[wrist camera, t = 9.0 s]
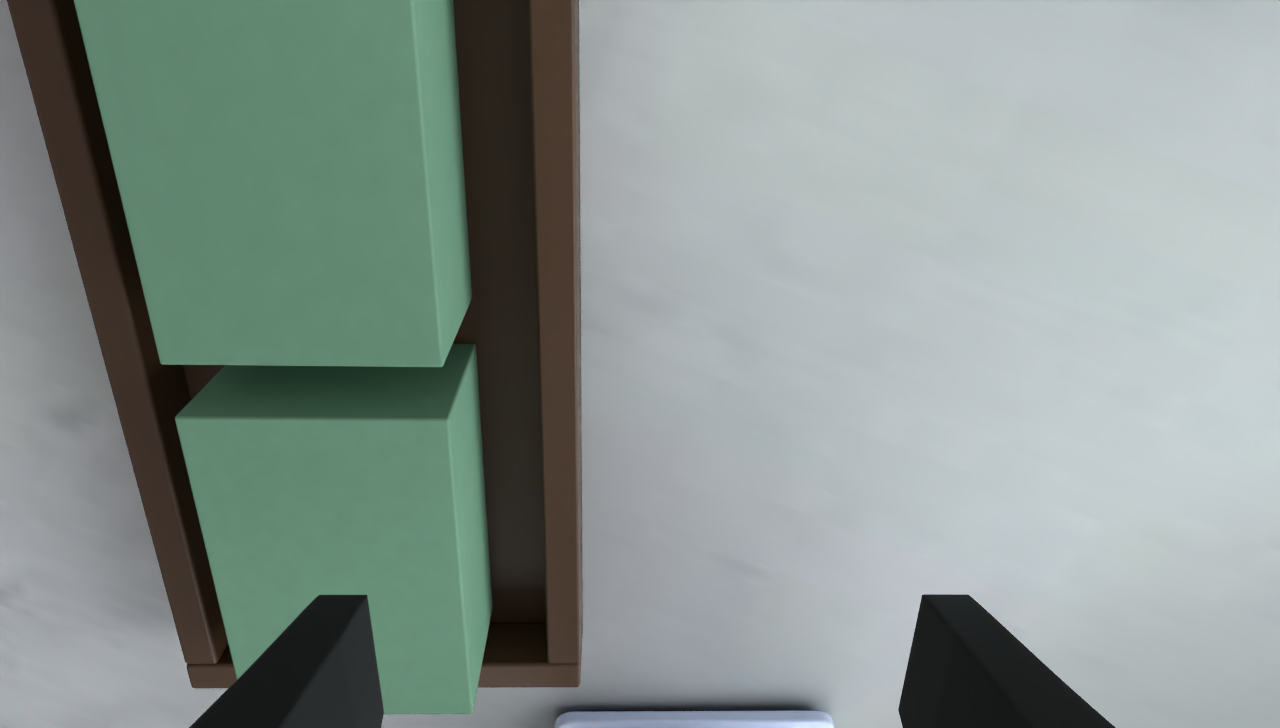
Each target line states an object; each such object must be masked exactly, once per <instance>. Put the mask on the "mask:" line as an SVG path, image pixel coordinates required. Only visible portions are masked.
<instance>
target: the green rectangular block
mask: <svg viewBox="0 0 1280 728" xmlns="http://www.w3.org/2000/svg"><path fill="white" fill-rule="evenodd" d="M74 4H75V8H76V12H77V16H78V21H79V25H80V29H81V33H82V37H83V41H84V46H85V50H86V54H87V58H88V62H89V67H90V71H91V75H92V79H93V83H94V88H95V92H96V96H97V100H98V104H99V108H100V113H101V117H102V121H103V125H104V129H105V134H106V138H107V142H108V146H109V150H110V155H111V159H112V163H113V167H114V171H115V175H116V180H117V184H118V188H119V192H120V196H121V201H122V205H123V209H124V213H125V217H126V221H127V226H128V230H129V234H130V238H131V242H132V247H133V251H134V255H135V259H136V263H137V268H138V272H139V276H140V280H141V284H142V288H143V293H144V297H145V301H146V305H147V309H148V314H149V318H150V322H151V326H152V330H153V335H154V339H155V343H156V347H157V351H158V355H159V360H160V363H161V364H167V365H266V366H366V367H443V365H444V363H445V360H446V358H447V356H448V353H449V351H450V349H451V346H452V344H453V342H454V339H455V337H456V334H457V332H458V330H459V327H460V325H461V323H462V320H463V318H464V316H465V313H466V311H467V309H468V306H469V304H470V302H471V299H472V287H471V271H470V255H469V240H468V224H467V208H466V193H465V177H464V161H463V146H462V130H461V114H460V99H459V83H458V67H457V52H456V36H455V20H454V5H453V0H74Z"/></svg>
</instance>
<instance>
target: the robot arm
mask: <svg viewBox="0 0 1280 728" xmlns="http://www.w3.org/2000/svg"><path fill="white" fill-rule="evenodd" d="M898 710H899V714H900V718H901V722H902V726H903V728H1115V727H1114V726H1113V725H1112V724H1111V723H1109V722H1108V721H1107V720H1106V719H1105V718H1104V717H1103V716H1101V715H1100V714H1099V713H1098V712H1097V711H1096V710H1095V709H1093V708H1092V707H1091V706H1090V705H1089V704H1088V703H1087V702H1085V701H1084V700H1083V699H1082V698H1081V697H1080V696H1079V695H1078V694H1076V693H1075V692H1074V691H1073V690H1072V689H1071V688H1070V687H1069V686H1068V685H1066V684H1065V683H1064V682H1063V681H1062V680H1061V679H1060V678H1059V677H1058V676H1057V675H1055V674H1054V673H1053V672H1052V671H1051V670H1050V669H1049V668H1048V667H1047V666H1046V665H1045V664H1043V663H1042V662H1041V661H1040V660H1039V659H1038V658H1037V657H1036V656H1035V655H1034V654H1033V653H1032V652H1030V651H1029V650H1028V649H1027V648H1026V647H1025V646H1024V645H1023V644H1022V643H1021V642H1020V641H1019V640H1018V639H1016V638H1015V637H1014V636H1013V635H1012V634H1011V633H1010V632H1009V631H1008V630H1007V629H1006V628H1005V627H1004V626H1002V625H1001V624H1000V623H999V622H998V621H997V620H996V619H995V618H994V617H993V616H992V615H991V614H990V613H988V612H987V611H986V610H985V609H984V608H983V607H982V606H981V605H980V604H978V603H977V602H976V601H975V600H974V599H973V598H972V597H970V596H969V595H922V599H921V604H920V609H919V613H918V618H917V623H916V628H915V633H914V637H913V642H912V647H911V652H910V657H909V661H908V666H907V671H906V676H905V681H904V685H903V690H902V695H901V700H900V704H899V709H898ZM383 715H384V708H383V701H382V694H381V688H380V681H379V674H378V667H377V660H376V653H375V646H374V639H373V632H372V625H371V618H370V611H369V604H368V597H367V595H318V596H317V597H316V598H315V599H314V600H313V601H312V602H311V603H310V604H309V605H308V606H307V607H306V608H305V609H304V610H303V611H302V612H301V613H300V614H299V615H298V616H297V617H296V619H295V620H294V621H293V622H292V623H291V624H290V625H289V626H288V627H287V628H286V629H285V630H284V631H283V632H282V633H281V634H280V636H279V637H278V638H277V639H276V640H275V641H274V642H273V643H272V644H271V645H270V646H269V647H268V648H267V649H266V650H265V651H264V652H263V653H262V655H261V656H260V657H259V658H258V659H257V660H256V661H255V662H254V663H253V664H252V665H251V666H250V667H249V668H248V669H247V670H246V671H245V672H244V673H243V674H242V675H241V676H240V677H239V678H238V679H237V680H236V681H235V682H234V683H233V684H232V685H231V686H230V687H229V688H228V689H227V690H226V691H225V692H224V693H223V694H222V695H221V696H220V697H219V698H218V700H217V701H216V702H215V703H214V704H213V705H212V706H211V707H210V708H209V709H208V710H207V711H206V712H205V713H204V714H203V715H202V716H201V717H200V718H199V719H198V720H197V721H196V722H195V723H193V724H192V725H191V726H190V727H189V728H381V724H382V719H383ZM555 728H834V724H833V720H832V718H831V717H830V715H829V714H827V713H825V712H823V711H605V712H567V713H564V714H562V715H560V716H559V717H558V718H557V719H556V722H555Z"/></svg>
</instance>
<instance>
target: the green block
mask: <svg viewBox="0 0 1280 728" xmlns="http://www.w3.org/2000/svg"><path fill="white" fill-rule="evenodd" d="M175 422H176V426H177V430H178V434H179V438H180V443H181V447H182V451H183V455H184V459H185V464H186V468H187V472H188V476H189V480H190V485H191V489H192V493H193V497H194V501H195V506H196V510H197V514H198V518H199V522H200V527H201V531H202V535H203V539H204V543H205V548H206V552H207V556H208V560H209V564H210V569H211V573H212V577H213V581H214V585H215V590H216V594H217V598H218V602H219V606H220V611H221V615H222V619H223V623H224V627H225V632H226V636H227V640H228V644H229V648H230V653H231V657H232V661H233V665H234V669H235V674H236V678H237V679H238V678H239V677H240V676H241V675H242V674H243V673H244V672H245V671H246V670H247V669H248V668H249V667H250V666H251V665H252V664H253V663H254V662H255V661H256V660H257V659H258V658H259V657H260V656H261V655H262V653H263V652H264V651H265V650H266V649H267V648H268V647H269V646H270V645H271V644H272V643H273V642H274V641H275V640H276V639H277V638H278V637H279V636H280V634H281V633H282V632H283V631H284V630H285V629H286V628H287V627H288V626H289V625H290V624H291V623H292V622H293V621H294V620H295V619H296V617H297V616H298V615H299V614H300V613H301V612H302V611H303V610H304V609H305V608H306V607H307V606H308V605H309V604H310V603H311V602H312V601H313V600H314V599H315V598H316V597H317V596H318V595H367V597H368V604H369V611H370V618H371V625H372V632H373V639H374V646H375V653H376V660H377V667H378V674H379V681H380V688H381V694H382V701H383V708H384V714H471V713H472V712H473V708H474V703H475V698H476V693H477V687H478V682H479V677H480V671H481V666H482V661H483V656H484V650H485V645H486V640H487V634H488V629H489V624H490V619H491V613H492V608H493V604H492V589H491V573H490V557H489V541H488V525H487V510H486V494H485V478H484V462H483V446H482V431H481V415H480V399H479V383H478V367H477V352H476V345H475V344H452V346H451V349H450V351H449V353H448V356H447V358H446V360H445V363H444V365H443V367H366V366H266V365H225V366H224V367H223V368H222V369H221V370H220V371H219V372H218V373H217V374H216V375H215V376H214V377H213V378H212V379H211V381H210V382H209V383H208V384H207V385H206V386H205V387H204V388H203V389H202V390H201V391H200V392H199V393H198V394H197V395H196V396H195V397H194V398H193V399H192V400H191V401H190V402H189V403H188V404H187V405H186V406H185V407H184V408H183V409H182V410H181V411H180V412H179V413H178V414H177V416H176V417H175Z"/></svg>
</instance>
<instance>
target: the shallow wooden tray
mask: <svg viewBox="0 0 1280 728" xmlns="http://www.w3.org/2000/svg"><path fill="white" fill-rule="evenodd" d="M7 2H8V6H9V10H10V14H11V17H12V21H13V25H14V28H15V32H16V36H17V40H18V43H19V47H20V51H21V54H22V58H23V62H24V65H25V69H26V73H27V77H28V80H29V84H30V88H31V91H32V95H33V99H34V103H35V106H36V110H37V114H38V117H39V121H40V125H41V129H42V132H43V136H44V140H45V143H46V147H47V151H48V154H49V158H50V162H51V166H52V169H53V173H54V177H55V180H56V184H57V188H58V192H59V195H60V199H61V203H62V206H63V210H64V214H65V218H66V221H67V225H68V229H69V232H70V236H71V240H72V243H73V247H74V251H75V255H76V258H77V262H78V266H79V269H80V273H81V277H82V281H83V284H84V288H85V292H86V295H87V299H88V303H89V307H90V310H91V314H92V318H93V321H94V325H95V329H96V332H97V336H98V340H99V344H100V347H101V351H102V355H103V358H104V362H105V366H106V370H107V373H108V377H109V381H110V384H111V388H112V392H113V396H114V399H115V403H116V407H117V410H118V414H119V418H120V421H121V425H122V429H123V433H124V436H125V440H126V444H127V447H128V451H129V455H130V459H131V462H132V466H133V470H134V473H135V477H136V481H137V485H138V488H139V492H140V496H141V499H142V503H143V507H144V510H145V514H146V518H147V522H148V525H149V529H150V533H151V536H152V540H153V544H154V548H155V551H156V555H157V559H158V562H159V566H160V570H161V574H162V577H163V581H164V585H165V588H166V592H167V596H168V599H169V603H170V607H171V611H172V614H173V618H174V622H175V625H176V629H177V633H178V637H179V640H180V644H181V648H182V651H183V655H184V659H185V662H186V663H187V670H188V674H189V678H190V682H191V685H192V687H193V688H229V687H230V686H231V685H232V684H233V683H234V682H235V681H236V680H237V678H236V674H235V669H234V665H233V661H232V657H231V653H230V648H229V644H228V640H227V636H226V632H225V627H224V623H223V619H222V615H221V611H220V606H219V602H218V598H217V594H216V590H215V585H214V581H213V577H212V573H211V569H210V564H209V560H208V556H207V552H206V548H205V543H204V539H203V535H202V531H201V527H200V522H199V518H198V514H197V510H196V506H195V501H194V497H193V493H192V489H191V485H190V480H189V476H188V472H187V468H186V464H185V459H184V455H183V451H182V447H181V443H180V438H179V434H178V430H177V426H176V422H175V417H176V416H177V414H178V413H179V412H180V411H181V410H182V409H183V408H184V407H185V406H186V405H187V404H188V403H189V402H190V401H191V400H192V399H193V398H194V397H195V396H196V395H197V394H198V393H199V392H200V391H201V390H202V389H203V388H204V387H205V386H206V385H207V384H208V383H209V382H210V381H211V379H212V378H213V377H214V376H215V375H216V374H217V373H218V372H219V371H220V370H221V369H222V368H223V367H224V366H225V365H167V364H161V363H160V360H159V355H158V351H157V347H156V343H155V339H154V335H153V330H152V326H151V322H150V318H149V314H148V309H147V305H146V301H145V297H144V293H143V288H142V284H141V280H140V276H139V272H138V268H137V263H136V259H135V255H134V251H133V247H132V242H131V238H130V234H129V230H128V226H127V221H126V217H125V213H124V209H123V205H122V201H121V196H120V192H119V188H118V184H117V180H116V175H115V171H114V167H113V163H112V159H111V155H110V150H109V146H108V142H107V138H106V134H105V129H104V125H103V121H102V117H101V113H100V108H99V104H98V100H97V96H96V92H95V88H94V83H93V79H92V75H91V71H90V67H89V62H88V58H87V54H86V50H85V46H84V41H83V37H82V33H81V29H80V25H79V21H78V16H77V12H76V8H75V4H74V0H7ZM453 5H454V20H455V36H456V52H457V67H458V83H459V99H460V114H461V130H462V146H463V161H464V177H465V193H466V208H467V224H468V240H469V255H470V271H471V287H472V299H471V302H470V304H469V306H468V309H467V311H466V313H465V316H464V318H463V320H462V323H461V325H460V327H459V330H458V332H457V334H456V337H455V339H454V342H453V344H475V345H476V352H477V367H478V383H479V399H480V415H481V431H482V446H483V462H484V478H485V494H486V510H487V525H488V541H489V557H490V573H491V589H492V604H493V608H492V613H491V619H490V624H489V629H488V634H487V640H486V645H485V650H484V656H483V661H482V666H481V671H480V677H479V682H478V687H578V686H579V684H580V674H581V653H582V633H583V622H582V450H581V278H580V106H579V0H453Z"/></svg>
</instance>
